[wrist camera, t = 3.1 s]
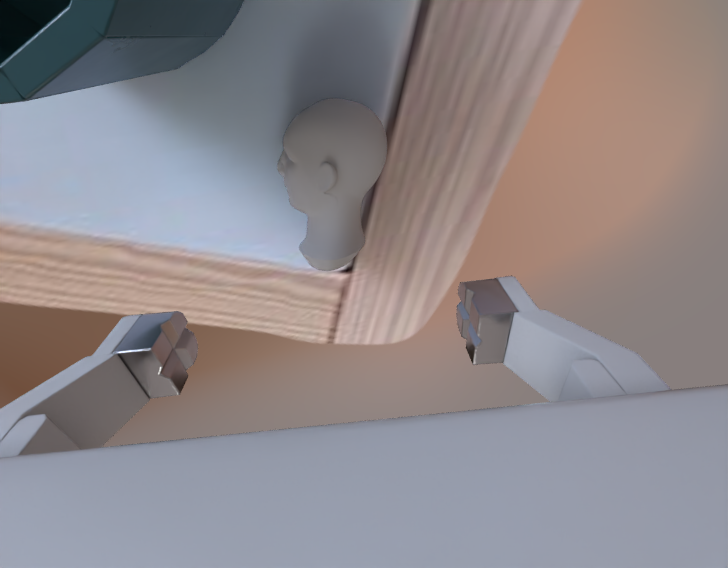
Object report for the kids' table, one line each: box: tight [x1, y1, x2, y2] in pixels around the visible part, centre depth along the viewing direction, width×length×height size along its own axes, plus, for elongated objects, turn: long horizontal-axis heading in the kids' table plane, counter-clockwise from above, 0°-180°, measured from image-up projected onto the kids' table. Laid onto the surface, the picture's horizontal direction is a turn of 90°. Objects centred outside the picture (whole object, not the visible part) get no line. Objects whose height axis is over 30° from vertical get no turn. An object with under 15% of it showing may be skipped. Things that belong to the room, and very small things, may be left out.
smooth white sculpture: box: [277, 98, 387, 271], centre depth 17 cm, size 4×8×5 cm
